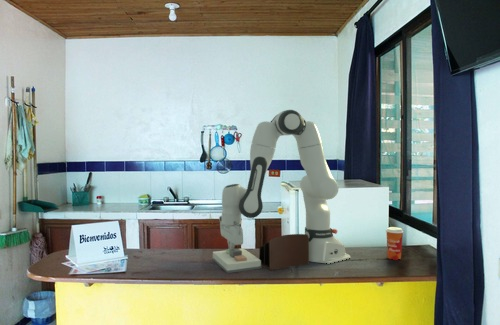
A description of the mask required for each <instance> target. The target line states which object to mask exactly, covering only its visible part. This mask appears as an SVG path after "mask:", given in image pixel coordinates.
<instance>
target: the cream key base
mask: <svg viewBox="0 0 500 325" xmlns="http://www.w3.org/2000/svg"><path fill="white" fill-rule="evenodd" d="M239 249H240V250H241V251H242V255H244V256H245V257H247V260H246V261H238V262H237V261H236V260H235V259H234V258H232V257H231V256H230V254H229V255H228V254H227V253H226V249H225V250H219V251H217V250H216V251H212V260H213V262H215V263H216V264H217V265H218V266H219V267H220V268H221V269H223V270H224V272H226V273H227V274H231V273H239V272H246V271H251V270H252V271H253V270H261V269H262V265H261V260H260V259H259V257H258V256H255V255H254V254H252V253H251V252H249V251H248V250H246V249H245V248H239Z"/></svg>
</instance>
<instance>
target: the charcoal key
mask: <svg viewBox="0 0 500 325" xmlns="http://www.w3.org/2000/svg"><path fill="white" fill-rule="evenodd" d="M240 249H241V248H234V249H231V250H230V256H231V257H232V258H235V256H239V255H242V251H241V250H240Z"/></svg>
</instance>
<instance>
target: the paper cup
mask: <svg viewBox="0 0 500 325" xmlns="http://www.w3.org/2000/svg"><path fill="white" fill-rule="evenodd" d="M385 233H386V251H387V252H386V253H387V259H388V260H391V259H393V260H392V261H399V260H398V259H400V260H401V258H402V248H403V236H404V235H403V233H405V232H404V230H403V228H401V227H396V226H390V227H389V226H388V227H387V228H386V230H385Z"/></svg>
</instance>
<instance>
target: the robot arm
mask: <svg viewBox="0 0 500 325" xmlns="http://www.w3.org/2000/svg"><path fill="white" fill-rule="evenodd" d="M281 136H293V137H294V139H295V141H296V145H297V151H298V155H299V156H298V157H299V160H300V161H299V162H300V164H301V166H302V168H303V169H304V171H305V175H304V176H302V177H301V180H300V182H299V188H300V190H301V193H302V197H303V201H304V203H303V204H304V209H305V227H304V234H306V235H308V237H309V262H312V263H322V264H326V263H327V264H326V265H328V264H329V265H330V263H331V264H334V262H335V263H338V261H339V262H343V261H345V260H346V259H347V260H350V259H351V255H350V254H348V253H346V249H345V244H344V243H343V242H341V241H340V240H339V239H337V238H336V237H335V236H334V234H335V235H336V234H337V233H338V230H337V229H336V228H331V211H330V208H329V206H328V203H327V200H332V199H334V198H335V197H336V196H337V195H338V193H339V184H338V182H337V181H336V179H335V177H333V174H332V172H331V170H330V167H329V165H328V163H327V160H326V157H325V152H324V148H323V142H322V139H321V135H320V132H319V130H318V127H317V125H316V124H315V122H313V121H307V120H305V119H304V118H303V117H302V115H301V114H300V113H299V112H298V111H297V110H294V109H286V110H283V111H281V112H279V113H278V114H276V115H274V117H273V118H272V120H270V121H261V122H258V124H257V126H256V129H255V130H254V133H253V136H252V140H251V145H250V149H249V150H250V151H249V163H250V174H249V178H248V183H247V187H246V188H245V187H243V186H242V185H240V183H239V184H238V183H233V184H228V185H226V186H224V187H223V189H222V193H221V194H222V195H221V205H222V210H221V215H220V216H219V218H218V220H219V228H220V230H219V231H220V235H221V237H222V238H224V239H226V241H227V246H228V249H229V250H231V249H235V246H242V245H243V244H244V232H243V228H242V227H241V224H242V216H243V217H246V218H249V219H253V218H257V217H258V216H260V214H261V213H262V211H263V208H264V206H263V200H262V191H263V185H264V182H265V177H266V174H267V172H268V169H269V167H270V165H271V163H272V161H273V158H274V156H275V152H276V148H277V142H278V140H279V138H280V137H281ZM349 258H350V259H349ZM342 260H343V261H342Z"/></svg>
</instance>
